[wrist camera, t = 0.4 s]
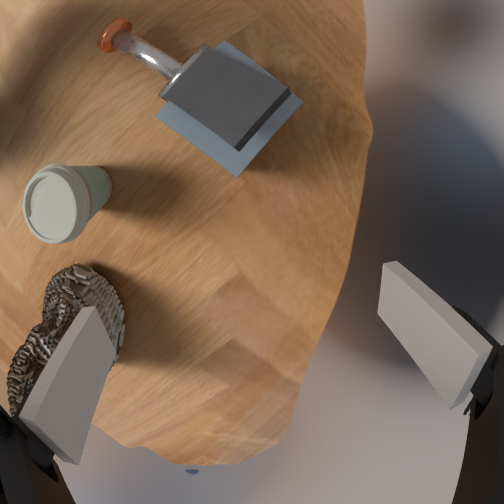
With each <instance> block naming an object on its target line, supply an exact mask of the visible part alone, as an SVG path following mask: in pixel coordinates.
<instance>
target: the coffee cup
mask: <svg viewBox="0 0 504 504" xmlns="http://www.w3.org/2000/svg"><path fill="white" fill-rule="evenodd" d="M111 193H112V182H111V178H110V176H109V175H108V173H107V172H106V171H105V170H104V169H102V168H100V167H97V166H67V165H64V164H51V165H48V166H46V167H44V168H42V169H41V170H39V171H38V172H37V173H36V174H35V175H34V177H33V178H32V179H31V180H30V181H29V183H28V185H27V186H26V189H25V192H24V196H23V213H24V217H25V220H26V223H27V225H28V227H29V229H30V230H31V232H32V233H33V234H34V235H35V236H36V237H37V238H38V239H40V240H42V241H44V242H46V243H51V244H55V243H57V244H60V243H66V242H68V241H71V240H73V239H75V238H76V237H78V236H79V235H80V234H81V232H82V231H83V230H84V228H85V226H86V224H87V222H88V221H89V220H90V219H91V218H92V217H93V216H94V215H95V214H96V213H97V212H98V211H99V210H100V209H101V208H102V207H103V205H104V204H105V203H106V202H107V201H108V200H109V198H110V196H111Z"/></svg>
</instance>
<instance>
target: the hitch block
mask: <svg viewBox="0 0 504 504" xmlns="http://www.w3.org/2000/svg"><path fill="white" fill-rule="evenodd" d="M214 51H216V52H219V53H221V54H223V55H226V56H228V57H230V58H232V59H235V60H237V61H239V62H241V63H243V64H245V65H247V66H250V67H252V68H254V69H256V70H258V71H260V72H262V73H264V74H266V75H267V76H269V77H271V78H273V79H275V80H277V79H276V78H275V77H273V76H272V75H271V74H270V73H268V72H267V71H266V70H265V69H263V68H262V67H261V66H259V65H258V64H257V63H255V62H254V61H253V60H251V59H250V58H249V57H247V56H246V55H245V54H243V53H242V52H240V51H239V50H238V49H236V48H235V47H233V46H232V45H230V44H229V43H227V42H226V41H225V40H223V41H222V42H221V43H220V44H219V45H218V46H217V47H216V48H215V49H214ZM277 81H278V80H277ZM279 82H280V81H279ZM291 93H292V94H291V95H290V96H289V97H288V98H287V99H286V100H285V101H284V103H283V104H282V105H281V106H280V107H279V108H278V109H277V110H276V111H275V112H274V113H273V114H272V116H271V117H270V118H269V119H268V120H267V121H266V122H265V123H264V124H263V126H262V127H261V128H260V129H259V130H258V131H257V132H256V133H255V135H254V136H253V137H252V138H251V139H250V140H249V141H248V143H247V144H246V145H245V146H244V147H243V148H242V150H241V151H240V152H238V151H237V150H236V149H234V148H233V147H232V146H231V145H229V144H228V143H227V142H225V141H224V140H223V139H221V138H220V137H219V136H217V135H216V134H215V133H213V132H212V131H211V130H209V129H208V128H207V127H205V126H204V125H203V124H201V123H200V122H199V121H197V120H196V119H194V118H193V117H192V116H190V115H189V114H188V113H186V112H185V111H183V110H182V109H181V108H179V107H178V106H176V105H175V104H173V103H172V102H171V101H169V100H168V102H166V103H165V105H164V106H163V107H162V108H161V110H160V111H159V112H158V113H157V115H156V116H155V117H156V118H158V119H159V120H161V121H162V122H163V123H165V124H166V125H167V126H169V127H170V128H172V129H173V130H174V131H176V132H177V133H178V134H180V135H181V136H182V137H184V138H185V139H186V140H188V141H189V142H190V143H192V144H193V145H194V146H196V147H197V148H198V149H200V150H201V151H202V152H204V153H205V154H206V155H208V156H209V157H210V158H212V159H213V160H214V161H215V162H217V163H218V164H219V165H221V166H222V167H223V168H225V169H226V170H227V171H228V172H230V173H231V174H232V175H233V176H235V177H236V178H237V177H238V176H239V175H240V173H241V172H242V171H243V170H244V169H245V167H246V166H247V165H248V164H249V163H250V162H251V160H252V159H253V158H254V157H255V156H256V155H257V153H258V152H259V151H260V150H261V149H262V148H263V146H264V145H265V144H266V143H267V142H268V141H269V140H270V138H271V137H272V136H273V135H274V134H275V133H276V132H277V131H278V129H279V128H280V127H281V126H282V125H283V124H284V123H285V122H286V121H287V120H288V118H289V117H290V116H291V115H292V114H293V113H294V112H295V111H296V110H297V109H298V108H299V106H300V105H301V104H302V103H303V101H302V100H301V99H300V98H298V97H297V96H296V95H295V94H294V93H293V92H292V91H291Z"/></svg>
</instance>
